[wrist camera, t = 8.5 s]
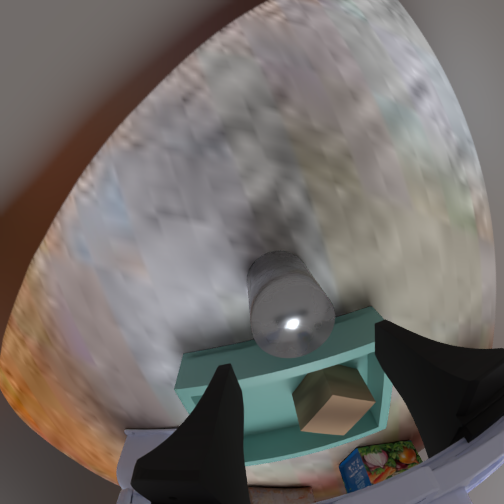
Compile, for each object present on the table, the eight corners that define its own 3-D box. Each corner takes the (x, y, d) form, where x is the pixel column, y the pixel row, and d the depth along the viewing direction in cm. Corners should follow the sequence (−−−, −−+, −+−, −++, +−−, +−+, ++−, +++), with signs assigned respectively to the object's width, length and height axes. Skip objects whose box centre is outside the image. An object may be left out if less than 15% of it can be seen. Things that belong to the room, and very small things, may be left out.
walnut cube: (331, 402, 25) (343, 435, 20) (291, 394, 24) (300, 430, 20) (357, 369, 24) (375, 401, 19) (317, 358, 23) (332, 394, 19)
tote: (227, 436, 27) (227, 468, 23) (183, 353, 24) (174, 389, 19) (371, 400, 27) (385, 428, 22) (371, 305, 23) (396, 333, 18)
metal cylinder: (255, 314, 23) (262, 366, 16) (240, 259, 21) (241, 298, 15) (312, 299, 23) (338, 345, 16) (301, 244, 21) (329, 275, 15)
